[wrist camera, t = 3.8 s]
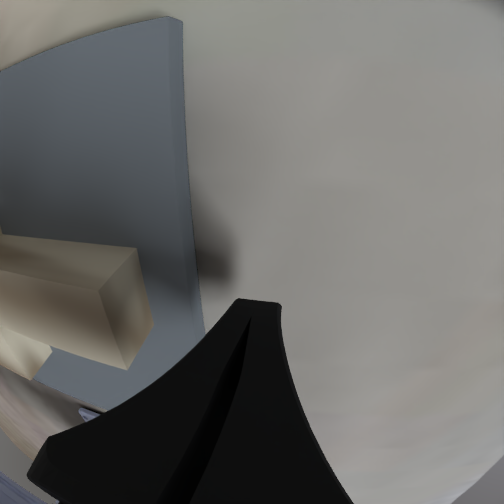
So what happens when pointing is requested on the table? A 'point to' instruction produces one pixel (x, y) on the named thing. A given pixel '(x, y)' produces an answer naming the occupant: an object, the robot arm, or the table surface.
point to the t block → (70, 302)
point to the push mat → (107, 183)
